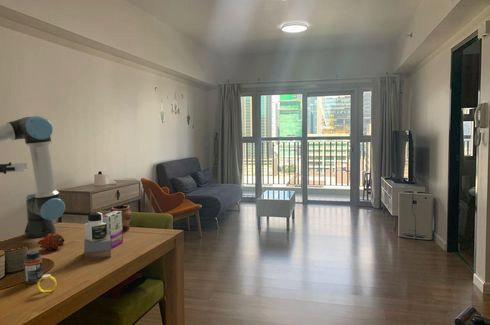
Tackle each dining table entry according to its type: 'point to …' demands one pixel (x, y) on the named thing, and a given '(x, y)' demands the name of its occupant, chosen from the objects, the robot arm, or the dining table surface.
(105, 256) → the clear shallow container
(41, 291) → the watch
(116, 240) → the candy bar box
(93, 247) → the slate block
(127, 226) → the decorative planter
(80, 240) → the dining table surface
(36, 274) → the supplement bottle
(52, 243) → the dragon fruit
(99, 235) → the medicine bottle
